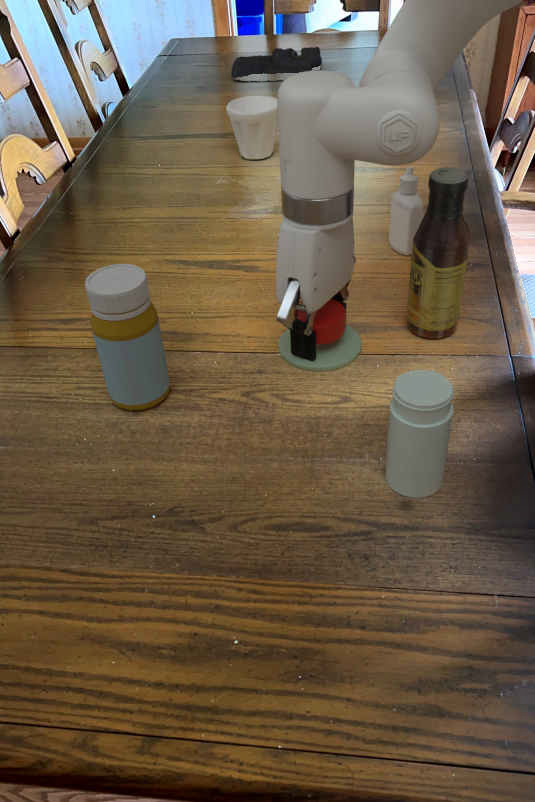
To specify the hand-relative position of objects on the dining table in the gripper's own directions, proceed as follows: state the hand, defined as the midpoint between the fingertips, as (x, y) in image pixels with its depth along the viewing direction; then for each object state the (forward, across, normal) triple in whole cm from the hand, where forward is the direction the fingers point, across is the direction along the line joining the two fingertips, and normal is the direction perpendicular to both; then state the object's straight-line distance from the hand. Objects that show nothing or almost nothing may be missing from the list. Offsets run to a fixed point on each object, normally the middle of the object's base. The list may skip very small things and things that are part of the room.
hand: (318, 340), depth 86 cm
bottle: (+1, +18, -13) cm, 22 cm away
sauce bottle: (+1, -10, +10) cm, 14 cm away
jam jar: (+1, +14, +19) cm, 24 cm away
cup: (+1, -47, -42) cm, 63 cm away
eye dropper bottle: (+1, -27, -2) cm, 27 cm away
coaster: (+1, 0, 0) cm, 1 cm away
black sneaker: (+1, -93, -68) cm, 115 cm away
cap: (-4, 0, 0) cm, 4 cm away
